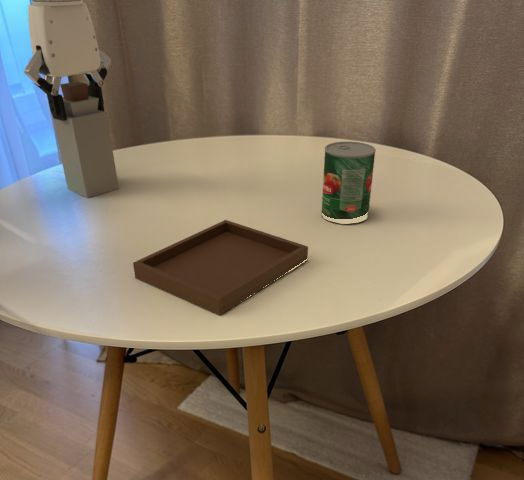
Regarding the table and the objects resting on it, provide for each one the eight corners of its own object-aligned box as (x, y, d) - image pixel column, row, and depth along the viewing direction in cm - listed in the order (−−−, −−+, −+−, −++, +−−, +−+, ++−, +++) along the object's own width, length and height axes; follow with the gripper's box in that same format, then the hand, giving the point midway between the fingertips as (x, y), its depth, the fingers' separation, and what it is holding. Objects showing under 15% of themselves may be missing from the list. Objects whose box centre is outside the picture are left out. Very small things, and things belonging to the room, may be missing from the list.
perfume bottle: (87, 198, 99) (65, 89, 88) (67, 189, 103) (45, 84, 92) (118, 188, 103) (102, 83, 92) (99, 180, 107) (80, 78, 96)
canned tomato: (378, 218, 91) (386, 150, 84) (341, 228, 87) (347, 158, 81) (347, 203, 96) (352, 138, 90) (311, 213, 93) (314, 146, 86)
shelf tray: (219, 315, 66) (219, 299, 65) (135, 277, 74) (132, 262, 73) (307, 261, 78) (308, 246, 77) (226, 233, 86) (225, 219, 85)
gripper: (87, -10, 92) (106, 103, 103) (-9, -5, 81) (22, 121, 92) (116, -9, 88) (132, 109, 99) (18, -3, 77) (48, 128, 88)
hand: (79, 114), depth 95 cm, fingers closed on perfume bottle, 7 cm apart
